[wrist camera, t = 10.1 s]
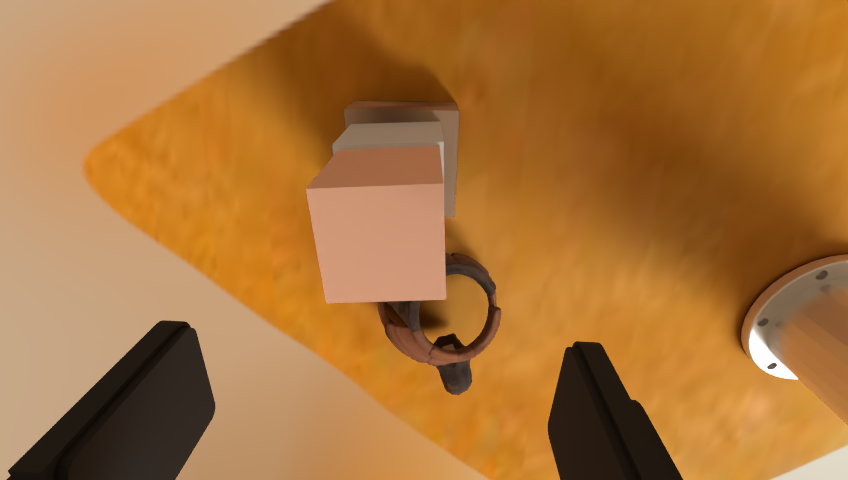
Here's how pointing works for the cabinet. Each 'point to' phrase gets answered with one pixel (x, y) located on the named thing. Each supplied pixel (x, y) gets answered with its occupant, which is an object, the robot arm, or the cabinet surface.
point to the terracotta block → (380, 225)
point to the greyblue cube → (392, 136)
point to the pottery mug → (447, 349)
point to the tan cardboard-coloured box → (417, 113)
